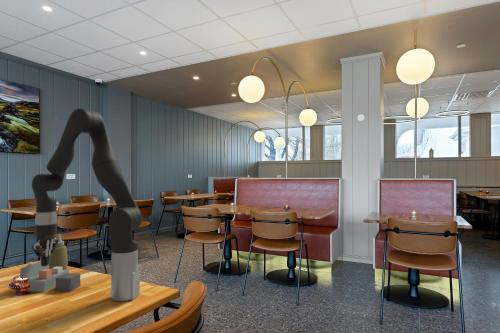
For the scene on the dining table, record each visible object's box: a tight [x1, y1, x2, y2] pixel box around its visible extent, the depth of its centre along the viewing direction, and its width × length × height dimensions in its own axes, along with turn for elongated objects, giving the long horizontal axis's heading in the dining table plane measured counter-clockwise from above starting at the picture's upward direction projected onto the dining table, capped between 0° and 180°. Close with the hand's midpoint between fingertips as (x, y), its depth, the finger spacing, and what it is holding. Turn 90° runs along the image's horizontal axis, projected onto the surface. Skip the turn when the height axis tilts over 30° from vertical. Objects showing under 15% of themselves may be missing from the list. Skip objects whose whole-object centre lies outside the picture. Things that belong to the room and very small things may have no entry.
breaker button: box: [39, 269, 52, 279], centre depth 127 cm, size 3×3×4 cm
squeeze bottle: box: [49, 233, 69, 270], centre depth 147 cm, size 8×8×18 cm
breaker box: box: [19, 258, 70, 293], centre depth 130 cm, size 10×15×10 cm
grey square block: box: [54, 272, 82, 292], centre depth 126 cm, size 7×7×5 cm
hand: (45, 265), depth 127 cm, fingers closed
